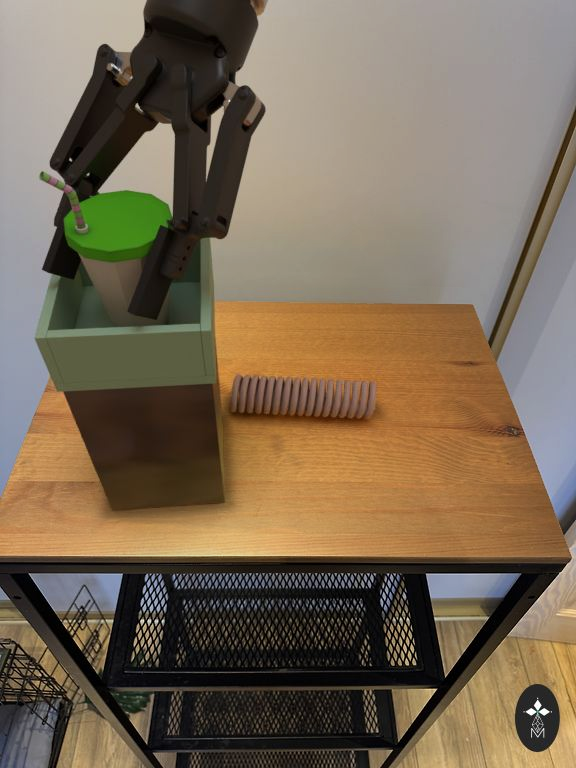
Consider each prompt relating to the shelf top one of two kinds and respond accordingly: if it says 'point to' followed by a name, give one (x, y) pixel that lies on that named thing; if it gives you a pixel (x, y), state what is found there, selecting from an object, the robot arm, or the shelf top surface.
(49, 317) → the bin
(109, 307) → the cup
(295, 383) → the coil
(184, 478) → the stand
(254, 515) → the shelf top surface
